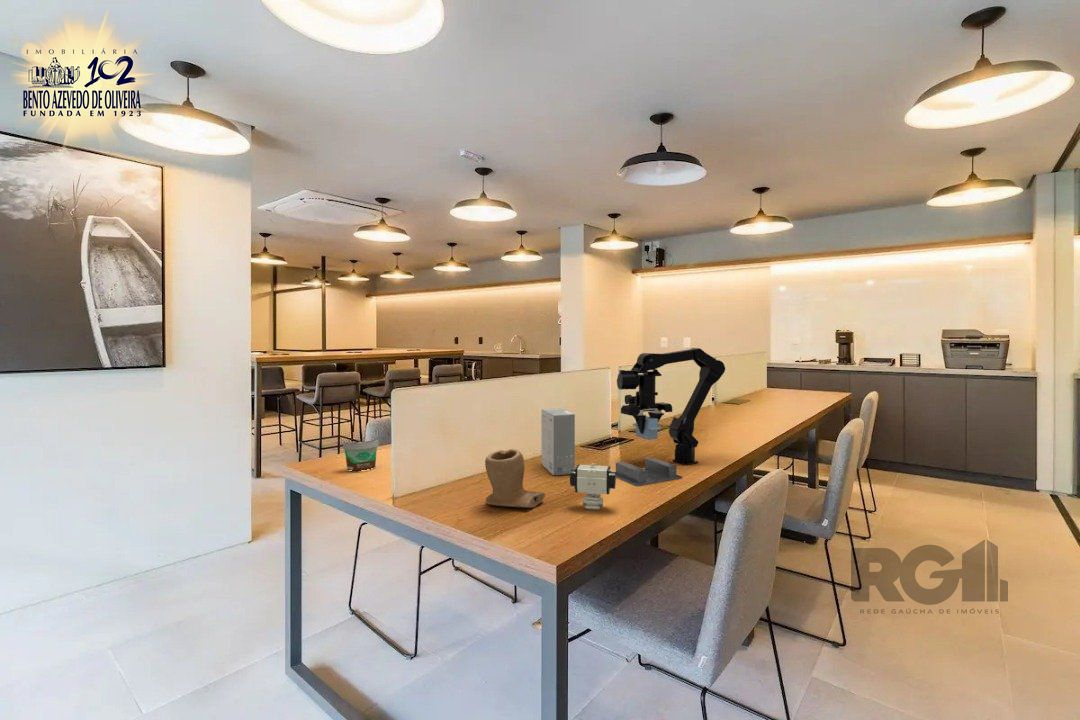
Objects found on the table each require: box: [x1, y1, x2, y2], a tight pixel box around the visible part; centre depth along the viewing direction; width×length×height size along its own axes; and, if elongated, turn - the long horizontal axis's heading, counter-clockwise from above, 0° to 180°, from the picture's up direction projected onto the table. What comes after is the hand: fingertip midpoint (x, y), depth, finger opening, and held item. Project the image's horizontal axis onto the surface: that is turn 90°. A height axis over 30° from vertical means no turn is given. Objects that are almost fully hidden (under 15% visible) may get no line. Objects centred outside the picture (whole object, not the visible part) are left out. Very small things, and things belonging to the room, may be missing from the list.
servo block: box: [632, 415, 663, 441], centre depth 175 cm, size 11×4×7 cm, turn 27°
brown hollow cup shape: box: [484, 448, 546, 509], centre depth 134 cm, size 15×12×15 cm
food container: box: [342, 437, 380, 471], centre depth 171 cm, size 12×6×10 cm, turn 132°
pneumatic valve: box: [569, 462, 617, 511], centre depth 132 cm, size 6×12×12 cm, turn 77°
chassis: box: [615, 456, 683, 487], centre depth 161 cm, size 18×14×4 cm
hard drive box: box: [540, 408, 576, 476], centre depth 170 cm, size 16×8×20 cm, turn 15°
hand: (646, 433), depth 176 cm, fingers closed on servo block, 4 cm apart
